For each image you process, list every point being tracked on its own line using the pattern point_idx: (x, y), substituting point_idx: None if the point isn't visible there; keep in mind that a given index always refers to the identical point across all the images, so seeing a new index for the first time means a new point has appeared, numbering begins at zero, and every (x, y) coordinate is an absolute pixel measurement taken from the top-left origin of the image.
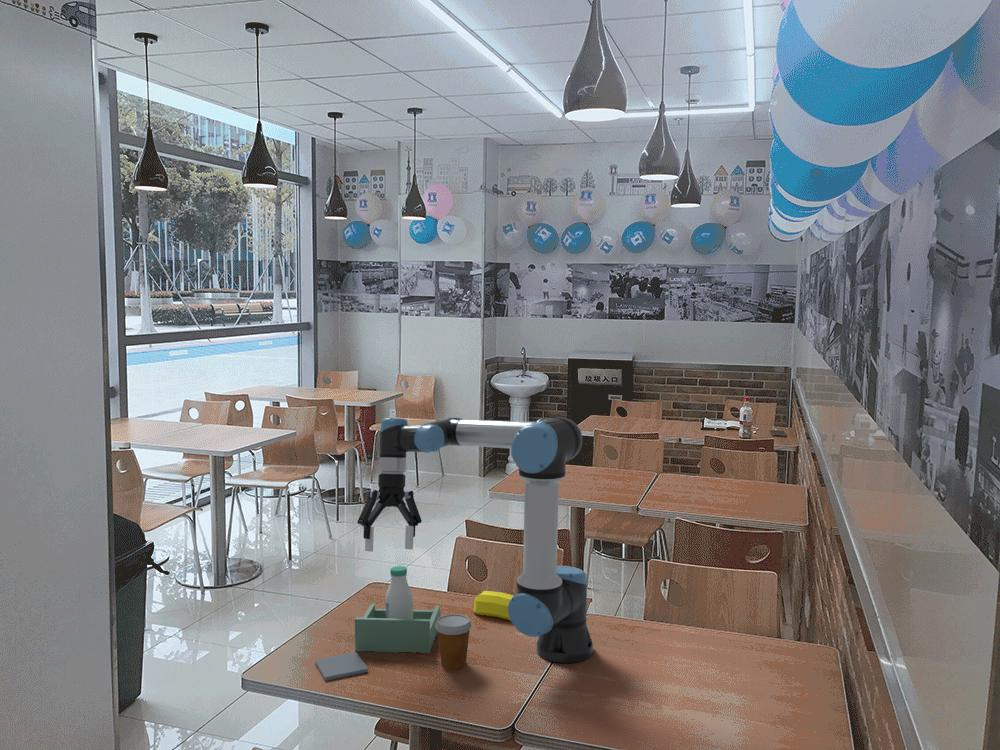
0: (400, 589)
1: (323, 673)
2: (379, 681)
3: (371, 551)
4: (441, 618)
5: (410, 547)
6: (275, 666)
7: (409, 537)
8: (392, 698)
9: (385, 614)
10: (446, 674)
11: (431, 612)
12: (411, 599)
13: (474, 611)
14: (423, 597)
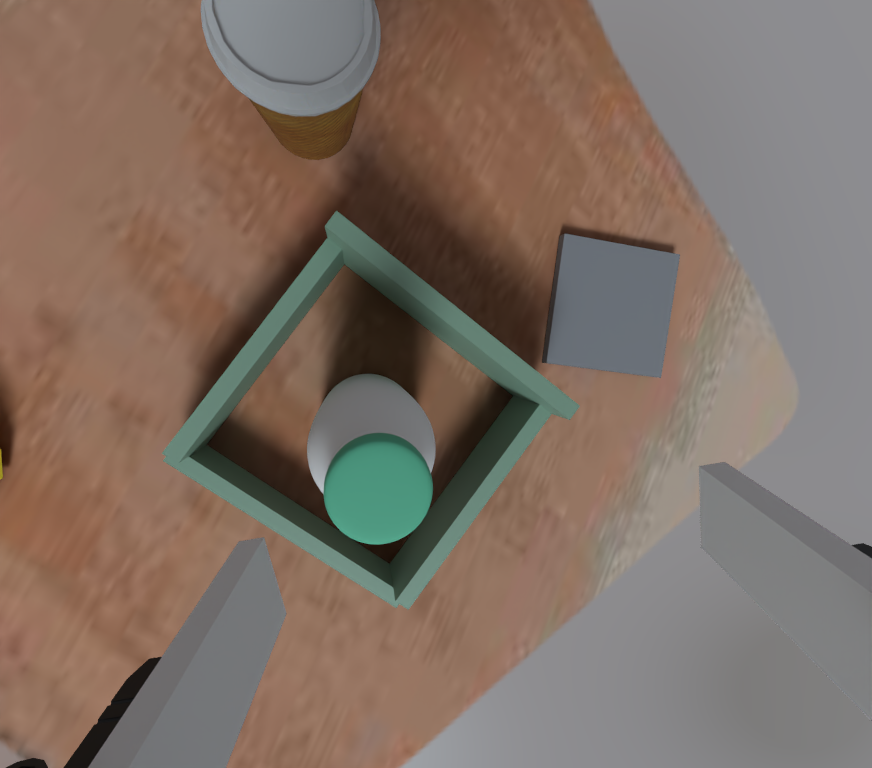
0: (389, 412)
1: (675, 280)
2: (557, 161)
3: (713, 465)
4: (323, 83)
5: (258, 552)
6: (739, 419)
7: (224, 647)
8: (572, 41)
9: (361, 560)
10: None
11: (206, 466)
12: (329, 401)
13: (1, 464)
14: None
